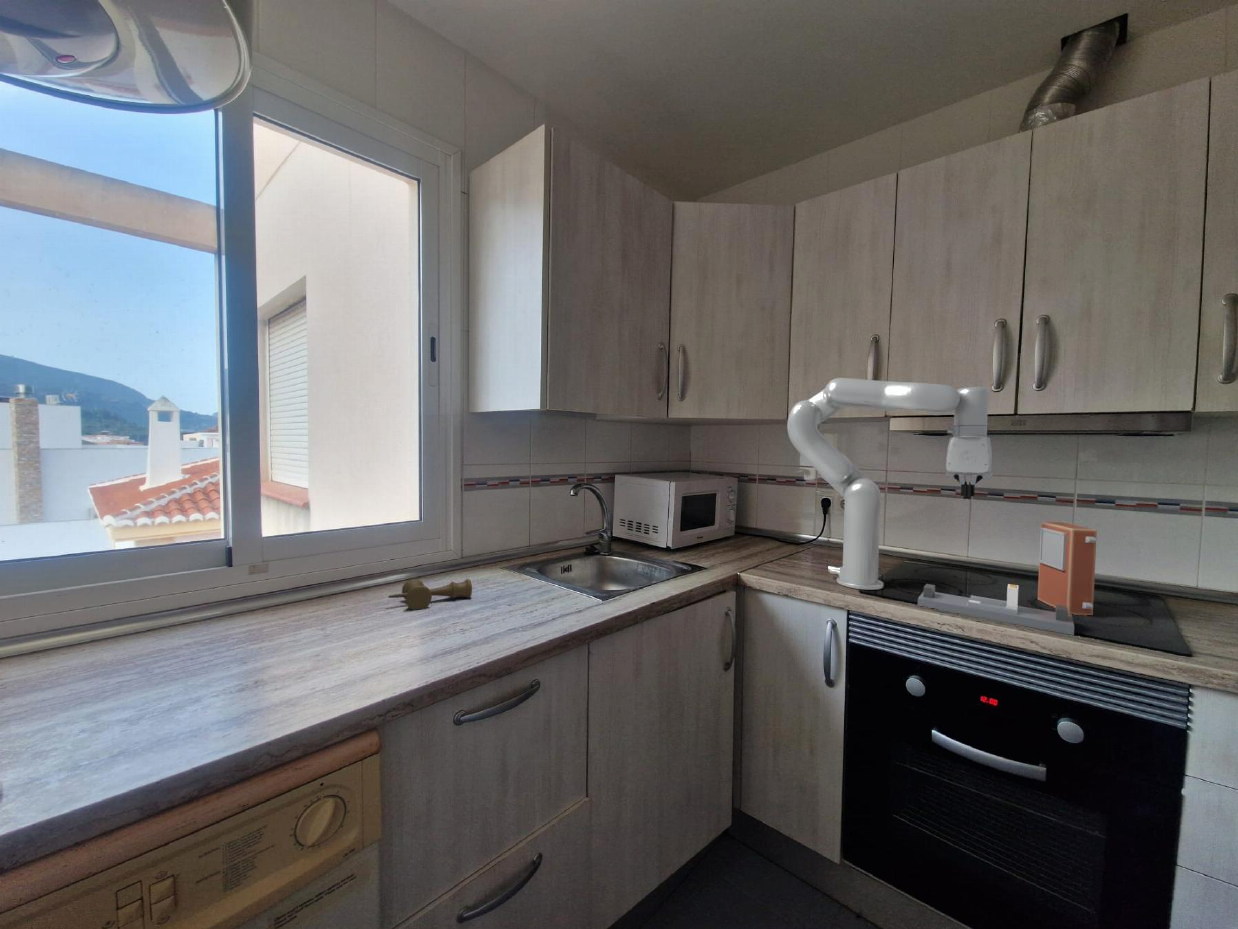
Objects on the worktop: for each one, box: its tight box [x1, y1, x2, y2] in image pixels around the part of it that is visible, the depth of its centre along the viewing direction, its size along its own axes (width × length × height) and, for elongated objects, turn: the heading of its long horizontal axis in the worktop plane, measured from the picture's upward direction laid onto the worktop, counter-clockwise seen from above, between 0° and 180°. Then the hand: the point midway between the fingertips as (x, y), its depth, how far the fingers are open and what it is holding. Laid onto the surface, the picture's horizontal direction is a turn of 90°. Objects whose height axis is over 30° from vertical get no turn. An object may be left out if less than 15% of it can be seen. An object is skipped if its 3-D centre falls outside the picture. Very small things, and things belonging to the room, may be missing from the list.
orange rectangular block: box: [1037, 521, 1098, 616], centre depth 130 cm, size 21×7×15 cm
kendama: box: [387, 578, 473, 611], centre depth 127 cm, size 6×10×20 cm
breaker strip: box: [917, 583, 1075, 636], centre depth 124 cm, size 30×10×4 cm, turn 50°
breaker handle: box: [1006, 583, 1019, 610], centre depth 121 cm, size 2×4×6 cm, turn 140°
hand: (967, 498), depth 139 cm, fingers closed
